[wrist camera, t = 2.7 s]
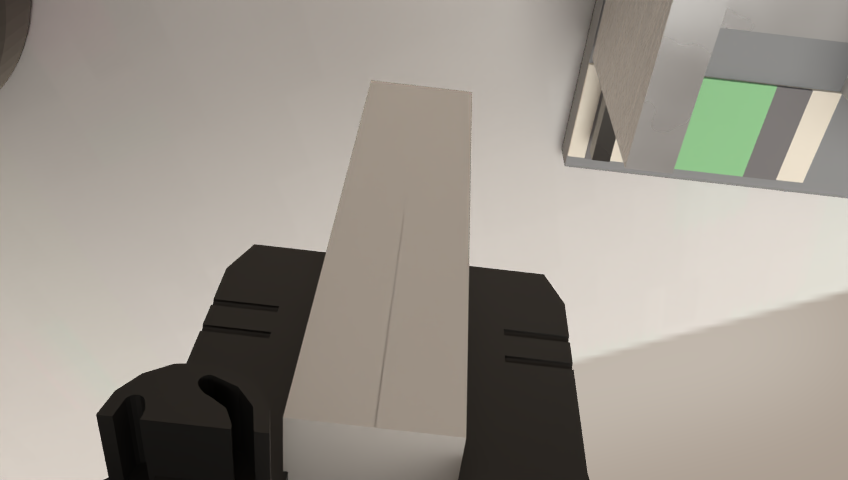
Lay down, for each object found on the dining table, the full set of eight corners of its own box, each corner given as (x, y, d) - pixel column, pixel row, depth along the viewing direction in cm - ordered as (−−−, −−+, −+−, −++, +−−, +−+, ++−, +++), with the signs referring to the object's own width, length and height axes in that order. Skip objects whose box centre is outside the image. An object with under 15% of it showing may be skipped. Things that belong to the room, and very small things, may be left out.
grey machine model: (571, 144, 28) (596, 268, 22) (649, -185, 22) (710, -133, 16) (874, 179, 28) (976, 311, 22) (1033, -139, 22) (1229, -70, 16)
